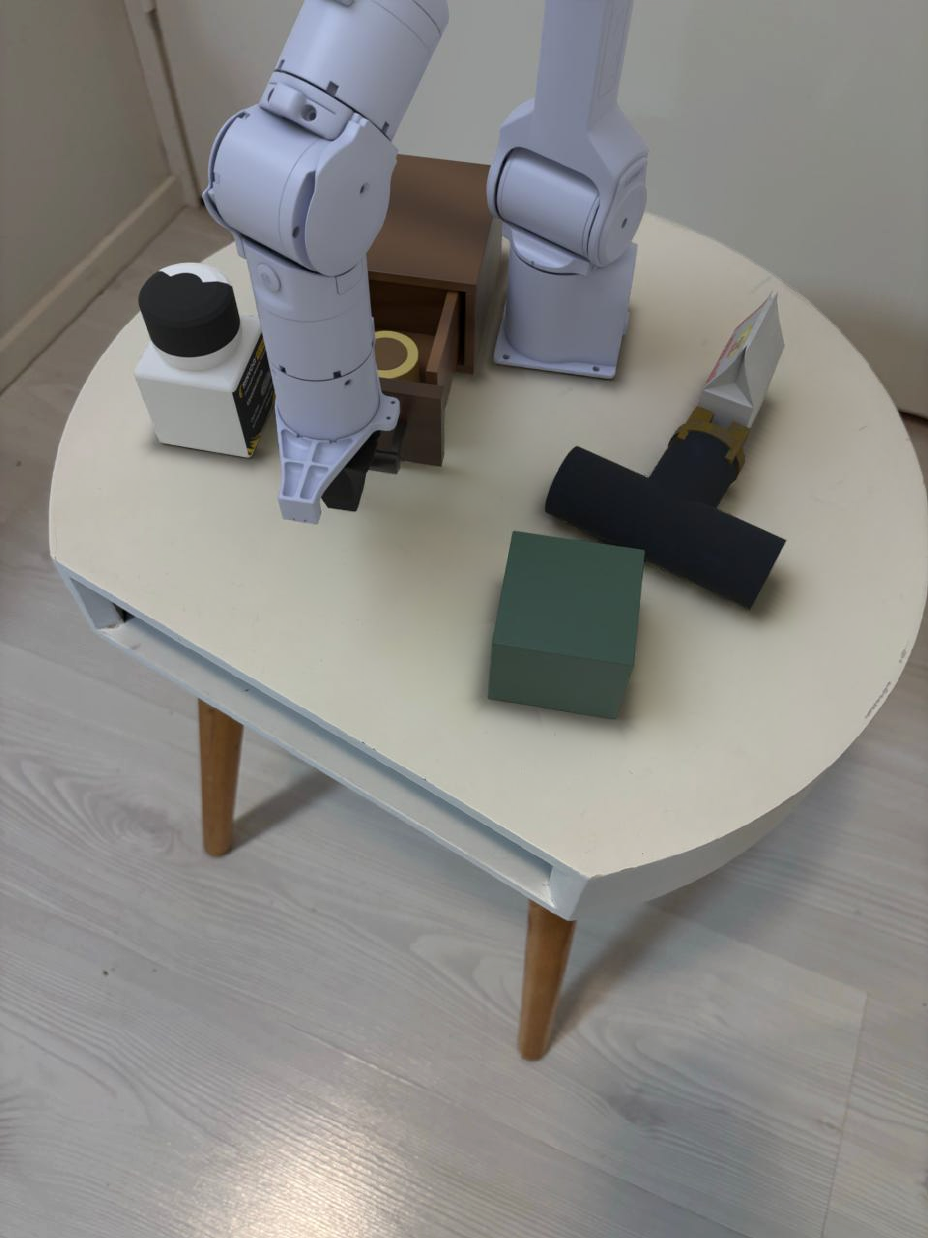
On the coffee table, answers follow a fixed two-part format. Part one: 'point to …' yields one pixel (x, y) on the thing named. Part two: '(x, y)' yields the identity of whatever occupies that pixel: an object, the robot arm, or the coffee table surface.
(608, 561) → the block
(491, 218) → the cabinet
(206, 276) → the medicine bottle
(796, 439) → the coffee table surface
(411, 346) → the tape
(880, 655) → the coffee table surface
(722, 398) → the white juice carton
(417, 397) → the drawer
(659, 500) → the pipe connector
